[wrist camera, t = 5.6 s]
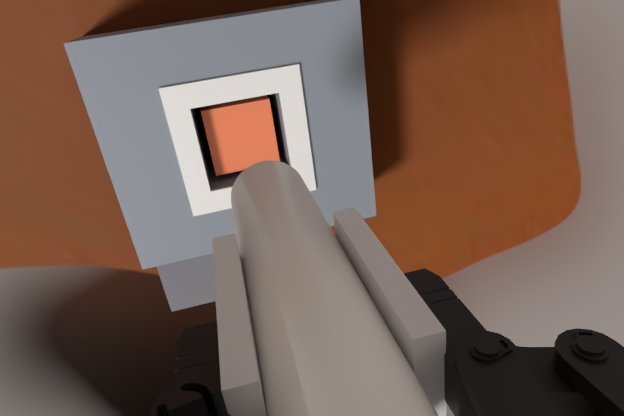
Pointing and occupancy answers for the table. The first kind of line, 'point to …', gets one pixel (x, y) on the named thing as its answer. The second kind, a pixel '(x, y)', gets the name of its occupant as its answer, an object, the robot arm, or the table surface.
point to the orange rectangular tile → (240, 134)
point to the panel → (220, 89)
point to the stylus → (313, 309)
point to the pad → (189, 282)
